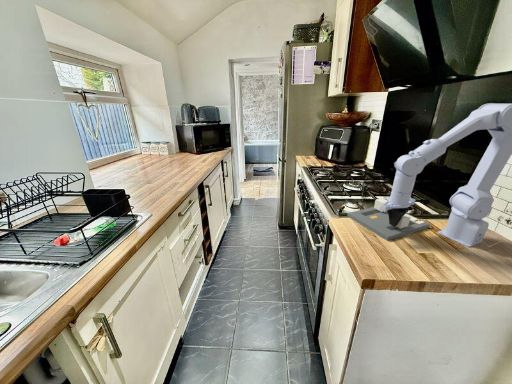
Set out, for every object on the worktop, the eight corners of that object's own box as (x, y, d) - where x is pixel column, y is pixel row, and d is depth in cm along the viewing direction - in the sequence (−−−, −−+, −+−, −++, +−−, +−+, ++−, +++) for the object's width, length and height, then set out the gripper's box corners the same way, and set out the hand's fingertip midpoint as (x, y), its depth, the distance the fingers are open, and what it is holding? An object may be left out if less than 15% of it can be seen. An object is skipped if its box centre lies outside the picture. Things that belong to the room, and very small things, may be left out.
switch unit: (428, 227, 82) (430, 223, 81) (386, 240, 74) (388, 236, 74) (384, 207, 98) (385, 203, 97) (347, 216, 91) (347, 212, 90)
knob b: (388, 210, 91) (390, 201, 89) (381, 211, 90) (383, 203, 88) (380, 206, 94) (382, 198, 93) (373, 208, 93) (375, 199, 92)
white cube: (407, 226, 79) (410, 216, 77) (400, 228, 78) (402, 219, 76) (397, 221, 82) (400, 212, 81) (390, 223, 81) (392, 214, 80)
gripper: (405, 183, 79) (396, 216, 84) (376, 189, 74) (369, 223, 79) (425, 190, 73) (414, 224, 78) (394, 197, 68) (385, 233, 73)
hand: (392, 224), depth 78 cm, fingers closed
